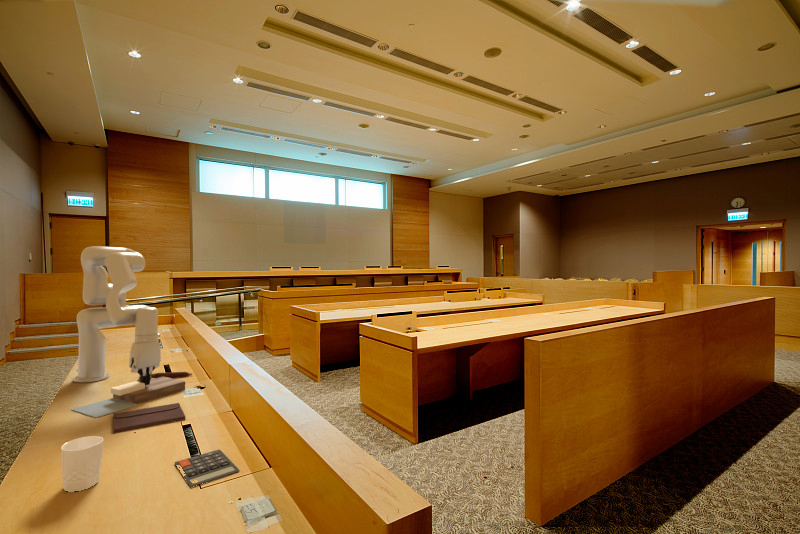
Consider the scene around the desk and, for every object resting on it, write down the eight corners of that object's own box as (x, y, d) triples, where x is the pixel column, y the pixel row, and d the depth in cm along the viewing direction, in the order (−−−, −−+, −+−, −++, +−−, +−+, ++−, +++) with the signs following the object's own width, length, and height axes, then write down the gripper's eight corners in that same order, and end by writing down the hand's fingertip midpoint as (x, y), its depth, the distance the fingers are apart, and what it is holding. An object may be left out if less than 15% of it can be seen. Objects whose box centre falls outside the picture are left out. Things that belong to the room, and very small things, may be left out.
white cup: (76, 476, 97) (77, 435, 97) (110, 475, 98) (111, 435, 98) (50, 494, 89) (51, 451, 89) (87, 494, 90) (88, 450, 90)
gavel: (192, 366, 188) (193, 372, 180) (191, 376, 188) (192, 382, 180) (140, 368, 178) (138, 374, 169) (139, 378, 178) (137, 384, 169)
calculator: (219, 448, 112) (239, 469, 101) (219, 451, 112) (239, 473, 101) (174, 461, 104) (190, 486, 93) (173, 465, 104) (190, 489, 93)
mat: (71, 410, 138) (71, 409, 138) (113, 398, 151) (113, 397, 151) (95, 418, 132) (95, 417, 132) (138, 405, 145) (138, 404, 145)
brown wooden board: (113, 398, 151) (113, 389, 151) (163, 384, 170) (163, 376, 170) (135, 404, 146) (136, 395, 146) (185, 389, 164) (185, 381, 164)
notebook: (185, 421, 133) (185, 415, 133) (113, 434, 121) (113, 428, 121) (178, 407, 145) (178, 402, 145) (112, 418, 133) (112, 413, 133)
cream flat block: (110, 393, 147) (110, 387, 147) (135, 386, 155) (135, 381, 155) (120, 395, 144) (119, 390, 144) (144, 388, 152) (144, 383, 152)
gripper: (158, 334, 164) (157, 378, 164) (120, 340, 150) (119, 388, 150) (170, 336, 161) (169, 381, 161) (132, 342, 147) (131, 391, 147)
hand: (145, 384), depth 155 cm, fingers closed
